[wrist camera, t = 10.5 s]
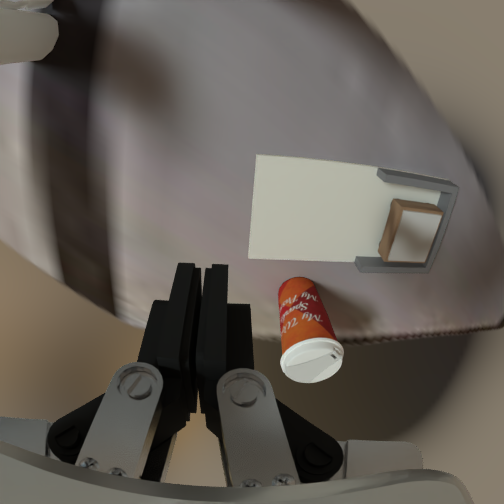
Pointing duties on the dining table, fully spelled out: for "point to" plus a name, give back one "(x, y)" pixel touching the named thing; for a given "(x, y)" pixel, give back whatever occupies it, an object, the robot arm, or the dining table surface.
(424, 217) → the white wood-edged tile
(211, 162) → the dining table surface
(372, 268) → the dock bay
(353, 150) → the dining table surface
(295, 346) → the paper cup
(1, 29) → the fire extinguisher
